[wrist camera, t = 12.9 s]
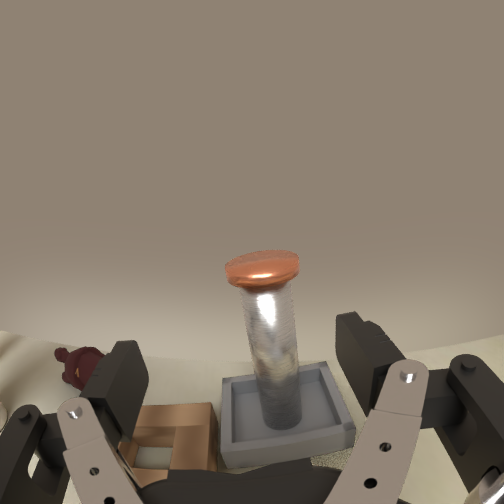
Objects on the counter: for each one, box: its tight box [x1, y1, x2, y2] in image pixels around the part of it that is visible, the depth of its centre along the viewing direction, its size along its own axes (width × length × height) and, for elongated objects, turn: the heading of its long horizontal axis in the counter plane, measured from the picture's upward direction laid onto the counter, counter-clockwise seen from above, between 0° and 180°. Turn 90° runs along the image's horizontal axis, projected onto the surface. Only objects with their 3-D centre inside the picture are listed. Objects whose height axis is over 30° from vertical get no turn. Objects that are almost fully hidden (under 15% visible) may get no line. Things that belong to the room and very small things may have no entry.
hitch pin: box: [225, 250, 302, 431], centre depth 25 cm, size 6×6×17 cm
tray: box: [220, 361, 356, 469], centre depth 28 cm, size 12×11×3 cm
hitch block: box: [118, 402, 218, 487], centre depth 23 cm, size 12×12×4 cm
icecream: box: [54, 347, 105, 391], centre depth 35 cm, size 7×7×15 cm
